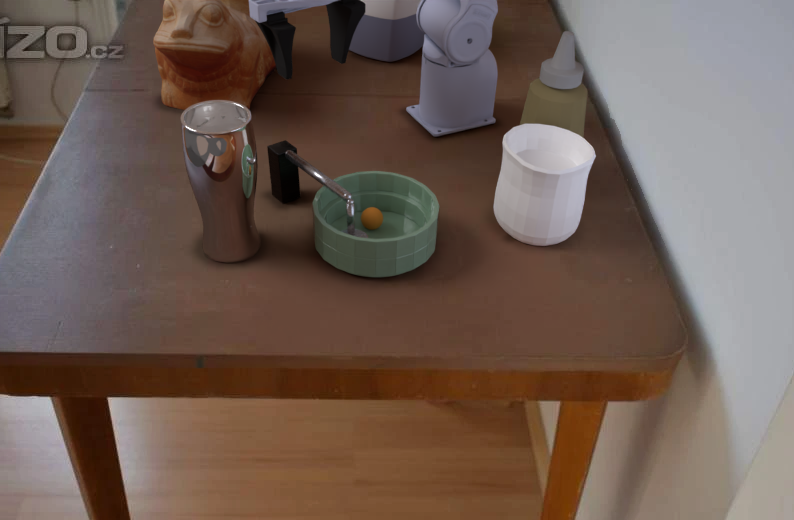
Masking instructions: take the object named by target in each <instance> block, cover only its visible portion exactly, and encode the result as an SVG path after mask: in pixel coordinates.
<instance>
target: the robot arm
mask: <svg viewBox="0 0 794 520" xmlns="http://www.w3.org/2000/svg"><path fill="white" fill-rule="evenodd" d="M322 6H323V7H324V6H325V7H326V11H327V18H328V25H329V42H330V43H329V45H330V48H329V49H330V55H331V59H332V60H334V61H336V62H337V63H339V64H340V65H343V64H347V59H348V55H349V51H350V50H349V47H350V44H351V41H352V38H353V35H354V32H355V30H356V28H357V26H358V24H359V22H360V20H361V18H362V17H363V15H364V14H365V8H366V4H365V3H364V2H362V1H360V0H249V10H250V17H251V18H253V19H254V20H255V22H256V23H257V25H258V26H259V28H260V29H261V31H262V33H263V35H264V37H265V39H266V41H267V43H268V45H269V47H270V50H271V52H272V55H273V58H274V61H275V64H276V71H277V74H278V75H279V76H280V77H282V79H284V80H286V81H288V80H292V79H293V74H294V73H293V72H294V69H293V68H294V66H293V45H294V38H295V33H296V30H297V27H296V26H295V25H293V24H292V23H290V22H289V18H288V17H286V14H290V13H294V12H299V11H302V10H306V9H311V8H314V7H315V8H316V7H322ZM498 12H499V6H498V0H421V1H420V3H419V5H418V8H417V14H416V19H417V24H418V26H419V28H420V30H421V31H422V32H423V33H424V44H423V46H422V52H421V53H422V54H421V55H422V56H421V68H420V86H419V102H418V104H414V105H409V106H407V107H406V109H405V110H406V111H405V112H407V113H408V114H409V115H410V116H411V117H412V118H413V119H414V120H415V121H416V122H417V123H419V124H420V125H421V126H422V128H424V129H425V130H426V131H427V132H428V133H430V135H431V136H433V137H436V138H437V137H441V136H445V135H449V134H454V133H458V132H462V131H466V130H470V129H471V130H472V129H475V128H481V127H484V126H489V125H493V124H495V123H496V120H497V119H496V118H495V117H494V110H495V101H496V93H497V84H498V75H499V74H498V73H499V71H498V64H497V59H496V58H495V56H494V54H493V52H492V51H491V49H489V47H490V46H491V43H492V38H493V26H494V22H495V19H496V16H497V14H498Z"/></svg>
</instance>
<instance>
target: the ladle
mask: <svg viewBox="0 0 794 520" xmlns="http://www.w3.org/2000/svg"><path fill="white" fill-rule="evenodd" d="M266 149H267V159H268V169H269V177H270V186H271V195H272V196H273V198H275V199H277V200H278V201H279V202H280V203H282V204H285V203H289V202H291V201H294V200H297V199H299V198H301V185H300V183H301V182H300V171H299V169H300V170H302V171H303V172H304V173H306V174H307V175H308V176H310V177H311V178H313V179H314V180H315V181H317V183H319V184H321V185H322V186H325V187H326V188H328V189H329V190H330V191H332V192H333V193H334V194H336V195H337V196H338V197H340V198H341V199H343V200H344V201H346V209H347V229H346V230H343V231H340V232H343V233H346V234H349V235H353V236H356V237H362V238H368V235H367V234H366V233H365V232H363V231H361V230H357V229H355V213H354V200H353V199H352V194H351V193H350V192H348V191H347V190H346V189H344V188H343V187H341V186H340V185H339V184H337V183H336V182H335V181H333V179H332V178H330V177H329V176H328V175H326V174H325V173H323V172H322V171H321V170H319V168H316V167H315V166H314V165H312V164H311V163H310V162H308V161H307V160H305V159H304V158H303V157H301V156H300V155H299V154H298V148H297V147H296V146H295V145H293V144H292V143H290V142H289V141H287V140H286V139H285V140H281V141H279V142H276V143H272V144H269V145H267V148H266Z"/></svg>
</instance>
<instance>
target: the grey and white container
mask: <svg viewBox="0 0 794 520" xmlns="http://www.w3.org/2000/svg"><path fill="white" fill-rule="evenodd" d="M360 1H362V2H364V3H365V4H366V8H365V14H364V15H363V17H362V18H361V20H360V22H359V24H358V26H357V28H356V30H355V32H354V35H353V38H352V41H351V44H350V47H349V51H351V52H352V53H354V54H357V55H359V56H361V57H365V58H368V59H373V60H376V61H381V62H388V63H392V62H396V61H400V60H401V59H404V58H407V57H410V56H411V55H414V54H415V53H416V52H418V51H419V50H420V49H421V48H423V44H424V33H423V32H422V31H421V30H420V28H419V26H418V24H417V19H416V14H417V8H418V5H419V3H420V1H421V0H360Z"/></svg>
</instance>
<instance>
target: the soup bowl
mask: <svg viewBox="0 0 794 520" xmlns="http://www.w3.org/2000/svg"><path fill="white" fill-rule="evenodd" d="M332 180H333V181H335V182H336V183H337V184H339V185H340V186H341V187H343V188H344V189H346V190H347V191H348V192H350V193H351V194H352V199H353V200H354V213H355V229H357V230H361V231H363V232H365V233H366V234H367V235H368V238H362V237H356V236H353V235H349V234H346V233H343V232H340V231H343V230H346V229H347V209H346V201H344V200H343V199H341V198H340V197H338V196H337V195H336V194H334V193H333V192H332V191H330V190H329V189H328V188H326V187H325V186H324V185H322V187H320V189H318V190H317V191H316V192H315V195H314V197H313V200H312V228H313V229H312V231H313V241H314V242H313V243H314V248H315V250H316V251H317V253H318V254H319V255H320V257H321V258H322V259H323V260H324V261H325V262H327V263H328V264H330V265H331V266H333V267H334V268H336V269H337V270H340V271H342V272H345V273H348V274H351V275H355V276H358V277H359V276H360V277H364V278H388V277H395V276H399V275H402V274H406V273H408V272H412V271H413V270H415V269H417V268H418V267H420V266H422V265H423V264H425V263H426V262H428V260H429V259H430V258H431V257H432V255H433V254H434V253H435V250H436V245H437V241H438V228H439V217H440V204H439V201H438V198H437V196H436V194H435V193H434V192H433V191H432V190H431V189H430V188H429V187H428V186H427V185H426V184H425V183H422V182H421V181H419V180H417V179H415V178H413V177H411V176H407V175H404V174H400V173H397V172H391V171H382V170H368V171H367V170H365V171H356V172H352V173H347V174H343V175H339V176H338V177H336V178H334V179H332ZM370 207H375V208H377V209H379V210H380V211H381V213H382V215H383V222H382V224H381V226H380V227H379V228H377V229H374V230H370V229H367V228H366V227H364V226H363V224H362V222H361V215H362V213H363V211H364V210H365V209H367V208H370Z"/></svg>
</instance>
